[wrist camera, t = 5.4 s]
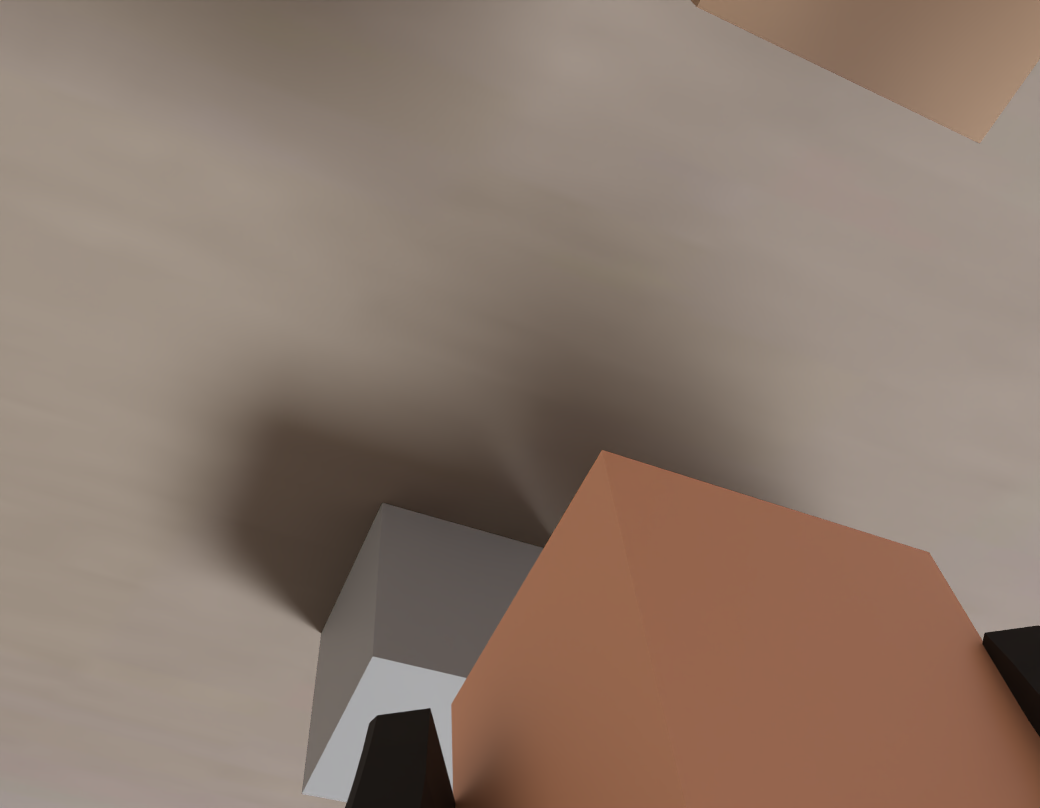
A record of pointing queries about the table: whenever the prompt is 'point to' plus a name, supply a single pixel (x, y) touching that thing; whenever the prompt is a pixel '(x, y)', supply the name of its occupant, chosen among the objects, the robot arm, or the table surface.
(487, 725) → the terracotta block
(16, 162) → the table surface
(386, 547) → the light gray block
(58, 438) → the table surface
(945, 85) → the wooden cube
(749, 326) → the table surface
